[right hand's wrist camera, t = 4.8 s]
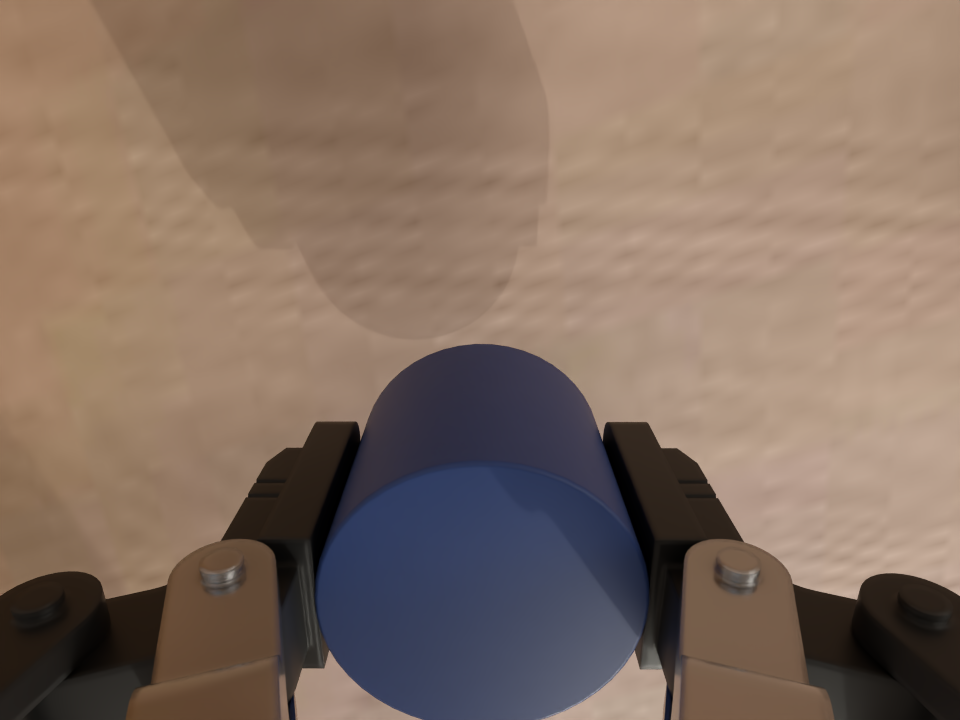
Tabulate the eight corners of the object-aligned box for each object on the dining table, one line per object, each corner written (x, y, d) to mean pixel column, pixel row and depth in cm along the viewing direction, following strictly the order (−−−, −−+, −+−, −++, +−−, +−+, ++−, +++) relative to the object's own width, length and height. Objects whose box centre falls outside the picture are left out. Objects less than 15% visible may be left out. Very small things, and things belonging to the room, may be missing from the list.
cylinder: (545, 573, 14) (572, 761, 10) (337, 511, 13) (277, 684, 9) (636, 387, 12) (710, 524, 8) (405, 308, 12) (367, 415, 8)
